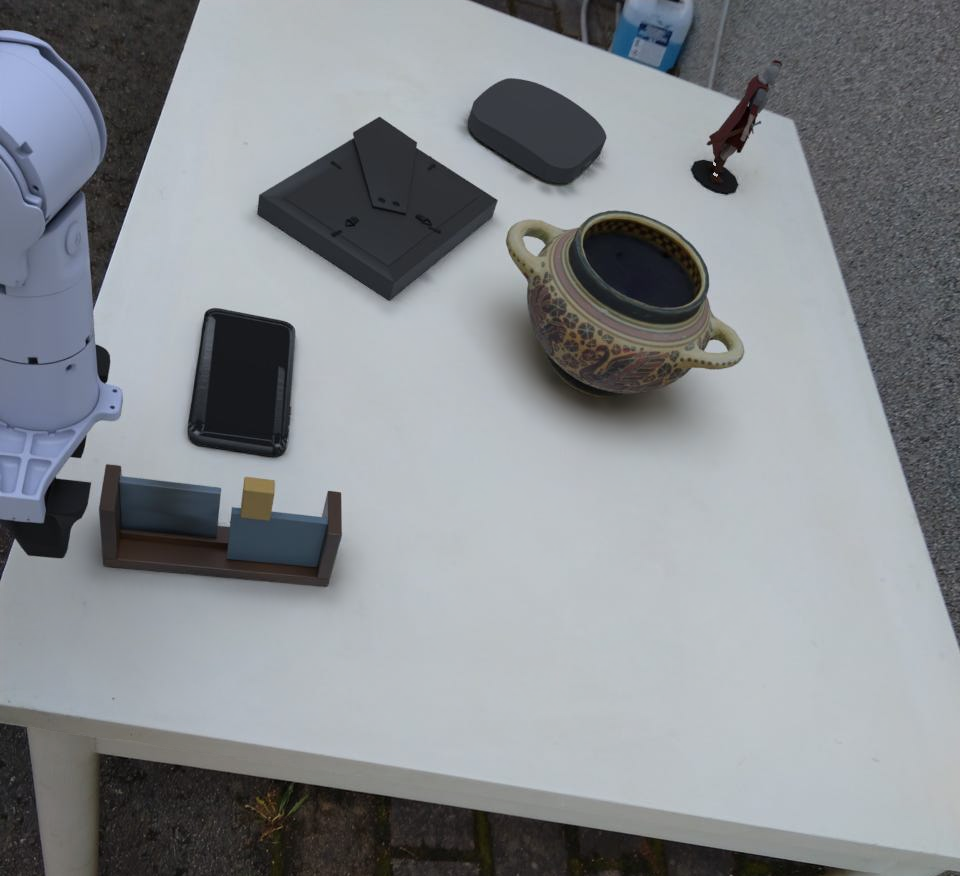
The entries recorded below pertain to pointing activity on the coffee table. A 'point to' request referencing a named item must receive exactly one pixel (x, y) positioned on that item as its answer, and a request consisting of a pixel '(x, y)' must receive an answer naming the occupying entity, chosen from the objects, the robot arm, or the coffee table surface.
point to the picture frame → (378, 208)
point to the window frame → (191, 532)
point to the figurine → (735, 133)
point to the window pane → (272, 530)
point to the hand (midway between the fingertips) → (55, 500)
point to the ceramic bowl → (620, 303)
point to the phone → (243, 383)
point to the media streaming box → (537, 129)
